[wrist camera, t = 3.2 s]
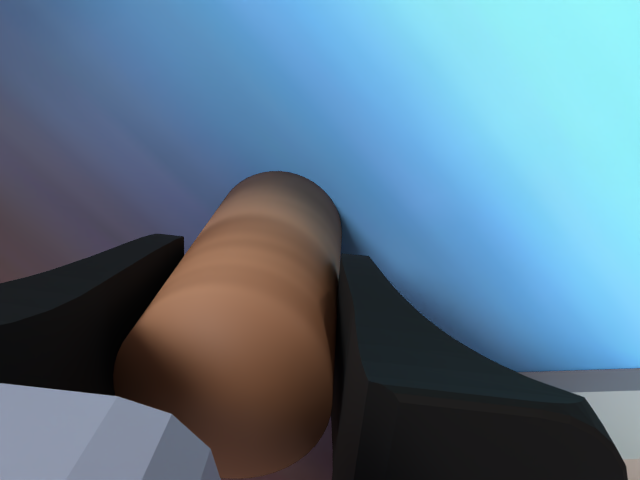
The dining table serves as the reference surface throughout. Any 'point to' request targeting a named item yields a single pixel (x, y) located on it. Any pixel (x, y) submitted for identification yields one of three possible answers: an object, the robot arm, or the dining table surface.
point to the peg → (246, 328)
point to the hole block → (607, 405)
